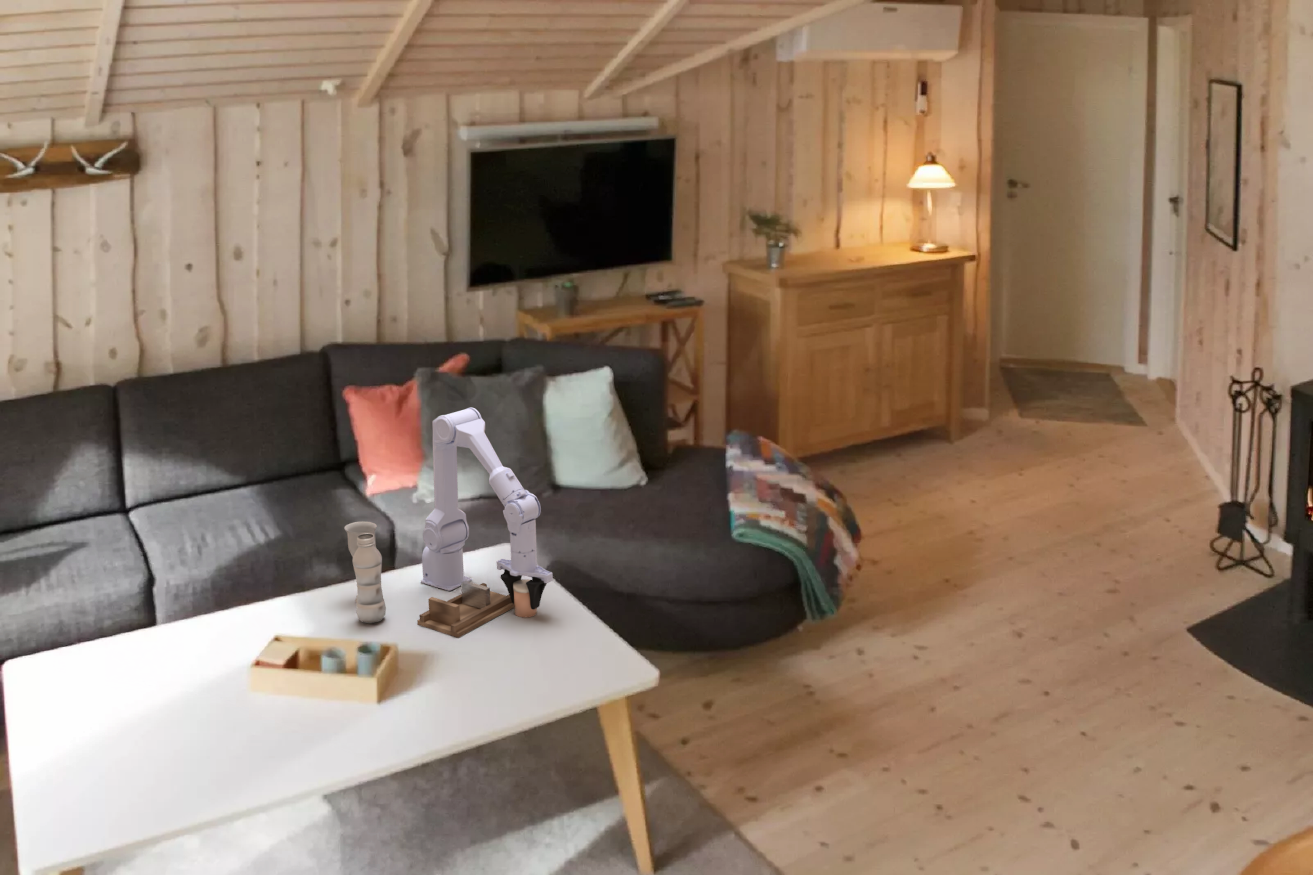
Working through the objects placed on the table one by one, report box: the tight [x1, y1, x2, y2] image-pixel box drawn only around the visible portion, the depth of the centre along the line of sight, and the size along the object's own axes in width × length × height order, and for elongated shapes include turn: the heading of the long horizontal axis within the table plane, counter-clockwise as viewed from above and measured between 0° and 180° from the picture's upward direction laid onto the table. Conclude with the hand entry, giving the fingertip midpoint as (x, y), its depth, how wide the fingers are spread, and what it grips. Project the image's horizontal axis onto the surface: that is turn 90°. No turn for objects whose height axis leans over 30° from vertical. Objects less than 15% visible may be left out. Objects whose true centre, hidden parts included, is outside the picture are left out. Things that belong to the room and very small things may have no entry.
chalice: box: [344, 521, 378, 604], centre depth 301 cm, size 7×7×18 cm
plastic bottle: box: [351, 533, 387, 624], centre depth 290 cm, size 6×7×20 cm
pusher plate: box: [460, 581, 491, 609], centre depth 297 cm, size 7×2×5 cm, turn 56°
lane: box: [416, 582, 515, 639], centre depth 295 cm, size 12×21×6 cm, turn 146°
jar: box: [513, 578, 538, 618], centre depth 296 cm, size 5×5×7 cm
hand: (525, 604), depth 296 cm, fingers closed on jar, 5 cm apart
